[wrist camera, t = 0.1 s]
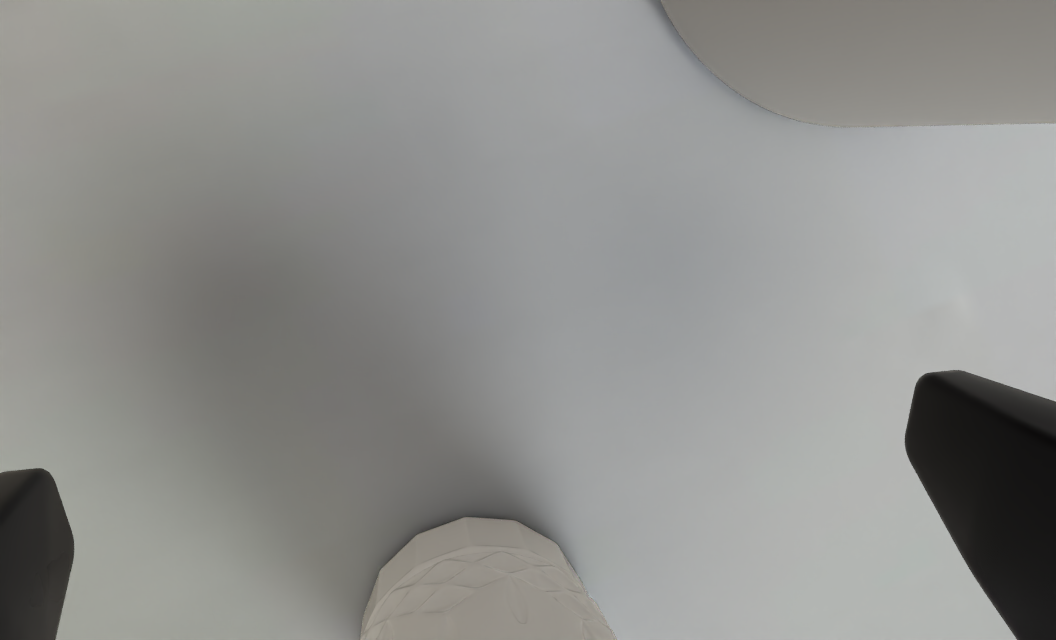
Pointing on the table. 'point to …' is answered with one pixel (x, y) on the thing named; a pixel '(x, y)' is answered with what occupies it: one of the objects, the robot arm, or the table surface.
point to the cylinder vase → (881, 58)
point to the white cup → (481, 588)
